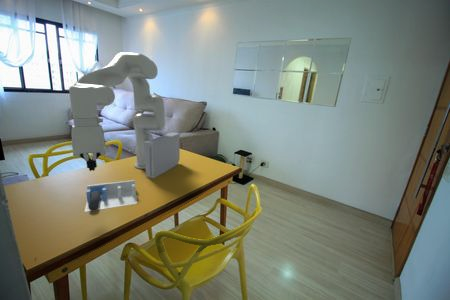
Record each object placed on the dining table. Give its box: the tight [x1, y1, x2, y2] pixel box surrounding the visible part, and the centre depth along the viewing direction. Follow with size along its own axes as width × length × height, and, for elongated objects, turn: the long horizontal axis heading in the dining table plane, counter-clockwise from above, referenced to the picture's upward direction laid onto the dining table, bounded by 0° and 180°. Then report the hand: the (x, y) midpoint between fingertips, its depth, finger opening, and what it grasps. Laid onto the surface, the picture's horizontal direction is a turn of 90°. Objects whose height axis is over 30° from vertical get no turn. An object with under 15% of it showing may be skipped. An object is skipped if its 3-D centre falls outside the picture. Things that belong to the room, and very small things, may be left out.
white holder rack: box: [84, 179, 138, 213], centre depth 93 cm, size 16×19×6 cm
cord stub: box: [89, 191, 100, 211], centre depth 88 cm, size 10×3×3 cm, turn 25°
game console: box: [145, 131, 181, 179], centre depth 126 cm, size 6×27×20 cm, turn 162°
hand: (92, 169), depth 82 cm, fingers closed
